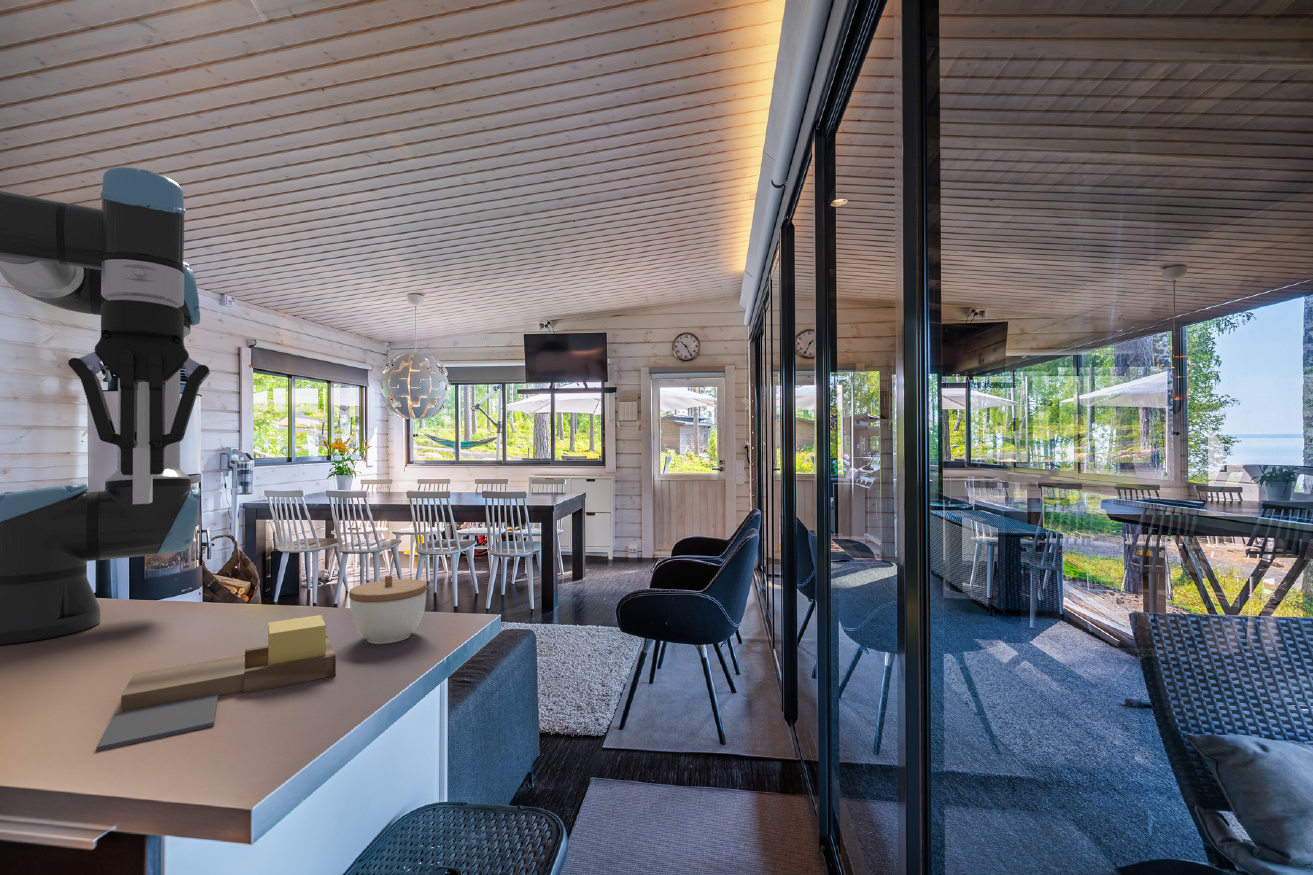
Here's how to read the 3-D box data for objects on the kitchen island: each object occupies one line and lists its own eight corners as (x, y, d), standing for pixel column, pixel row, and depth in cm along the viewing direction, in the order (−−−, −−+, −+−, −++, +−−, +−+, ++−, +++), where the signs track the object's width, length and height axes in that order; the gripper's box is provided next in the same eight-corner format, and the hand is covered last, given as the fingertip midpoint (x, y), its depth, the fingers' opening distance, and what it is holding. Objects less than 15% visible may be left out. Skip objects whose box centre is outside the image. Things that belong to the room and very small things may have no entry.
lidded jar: (441, 631, 94) (441, 571, 94) (385, 653, 84) (385, 585, 85) (391, 624, 98) (391, 566, 99) (332, 644, 89) (332, 580, 89)
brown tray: (134, 687, 73) (134, 666, 73) (327, 653, 84) (327, 635, 84) (119, 717, 64) (119, 693, 64) (335, 675, 76) (335, 655, 76)
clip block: (268, 622, 78) (321, 614, 81) (268, 669, 78) (321, 659, 81) (269, 633, 73) (325, 625, 76) (269, 683, 73) (325, 672, 76)
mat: (114, 717, 65) (114, 713, 65) (218, 697, 70) (218, 693, 70) (96, 751, 57) (96, 746, 57) (214, 725, 62) (214, 721, 62)
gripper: (60, 290, 65) (58, 509, 65) (210, 305, 72) (209, 501, 72) (76, 304, 71) (75, 504, 71) (213, 317, 79) (212, 498, 78)
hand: (142, 502), depth 71 cm, fingers closed
